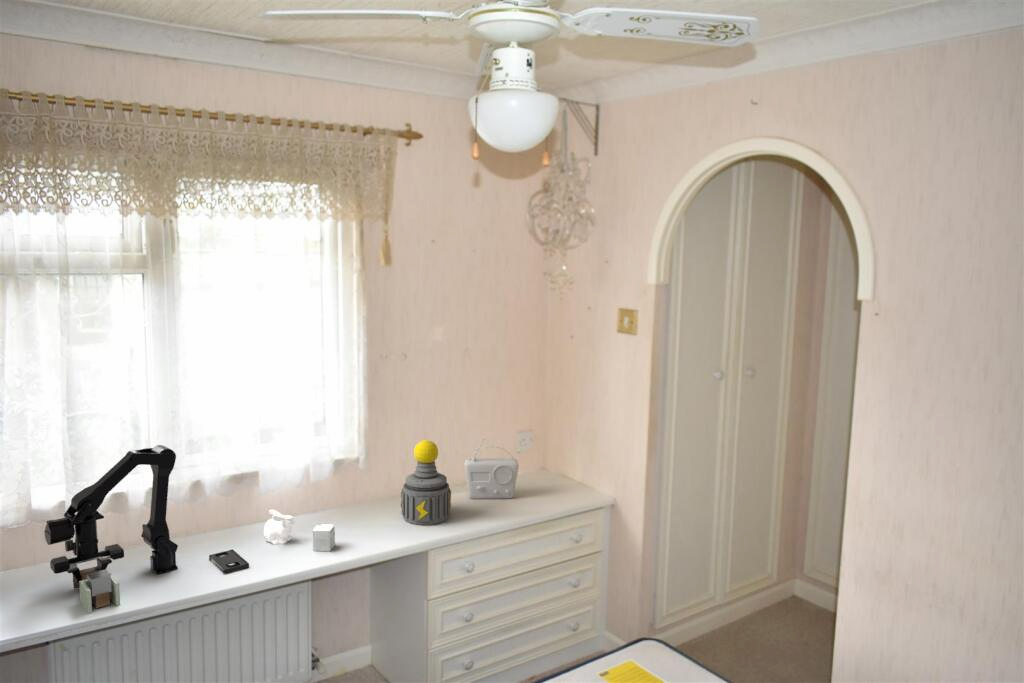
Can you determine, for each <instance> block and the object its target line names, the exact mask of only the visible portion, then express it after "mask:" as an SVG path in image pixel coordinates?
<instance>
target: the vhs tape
mask: <svg viewBox="0 0 1024 683" xmlns="http://www.w3.org/2000/svg"><path fill="white" fill-rule="evenodd" d="M208 561H210V562H211V563H212V564H213V566H215V567H216V568H217V569H218V570H219V571H220V572H222V573H223V575H227V574H231V573H234V572H238V571H243V570H246V569H249V568H250V563H249V562H248V561H247V560H245V559H244V558H243V557H242V556H241V555H240V554H239V553H238V552H237V551H235V550H234V549H229V550H226V551H220V552H216V553H212V554H208Z"/></svg>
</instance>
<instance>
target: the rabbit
mask: <svg viewBox="0 0 1024 683" xmlns="http://www.w3.org/2000/svg"><path fill="white" fill-rule="evenodd" d="M268 514H270V515H272V516H271V517H272V518H270V519H268V520H267V521H266V522H265V524H264V528H263V534H264V538H265V540H266V542H268V543H271V544H273V545H277V544H278V545H279V544H280V545H284V544H287V542H289V541H291V537H290V536H289V535H291V533H292V530H293V528H292V526H294V525H295V524H296V521H295V517H294V516H292V515H290V514H289V515H288V514H286V515H283V514H282V513H280V512H279V511H277V510H275V509H270V510H269V511H268Z"/></svg>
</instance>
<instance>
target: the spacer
mask: <svg viewBox="0 0 1024 683" xmlns="http://www.w3.org/2000/svg"><path fill="white" fill-rule="evenodd" d="M87 586H88V587H89V589H90V590H91V595H92V597H93V596H97V595H100V594H104V593H108V592H112V590H111V575H110V572H108V570H107V568H106V569H105V570H101V571H97V572H93V573H89V574H87Z"/></svg>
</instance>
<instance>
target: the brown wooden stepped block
mask: <svg viewBox="0 0 1024 683" xmlns="http://www.w3.org/2000/svg"><path fill="white" fill-rule="evenodd" d="M79 570H80V569H79ZM93 572H97V566H92V567H89V568H84V569H81V570H80V576H81V581H82V580H86V579H87V574H89V573H93ZM72 582H73V584H72V585H73V589H74V590H77V589H80V588H79V586H78V584H77V582H76V580H75V577H74V575H73V574H72ZM110 599H111V598H110V597H109V592H108V593H104V594H100V595H97V596H93V597H92V595H91V602H92V604H93V606H94V607H95V608H96V609H99V608H103V607H105V606H109V605H111V603H110V602H111V601H110Z"/></svg>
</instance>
